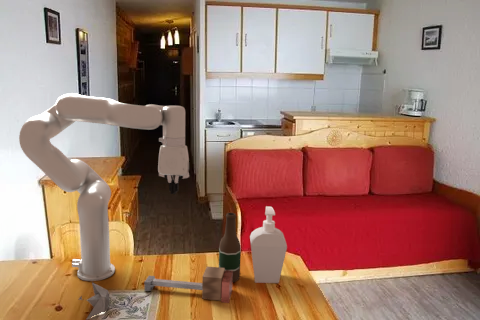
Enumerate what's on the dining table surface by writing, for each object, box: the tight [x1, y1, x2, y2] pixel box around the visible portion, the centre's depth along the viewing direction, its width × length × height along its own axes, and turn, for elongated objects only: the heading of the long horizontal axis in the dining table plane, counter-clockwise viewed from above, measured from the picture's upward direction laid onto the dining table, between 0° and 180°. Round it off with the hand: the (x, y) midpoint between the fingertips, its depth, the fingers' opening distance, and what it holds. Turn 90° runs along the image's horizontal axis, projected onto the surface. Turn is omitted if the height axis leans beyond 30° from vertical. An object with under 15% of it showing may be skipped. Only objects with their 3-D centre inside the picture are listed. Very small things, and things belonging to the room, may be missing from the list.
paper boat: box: [78, 281, 111, 320], centre depth 119 cm, size 12×6×9 cm
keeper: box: [201, 266, 225, 301], centre depth 130 cm, size 6×7×8 cm
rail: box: [143, 270, 233, 304], centre depth 131 cm, size 28×8×7 cm, turn 84°
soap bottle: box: [249, 205, 288, 284], centre depth 141 cm, size 12×10×26 cm
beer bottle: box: [218, 212, 242, 283], centre depth 140 cm, size 8×8×24 cm
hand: (173, 192), depth 141 cm, fingers closed
